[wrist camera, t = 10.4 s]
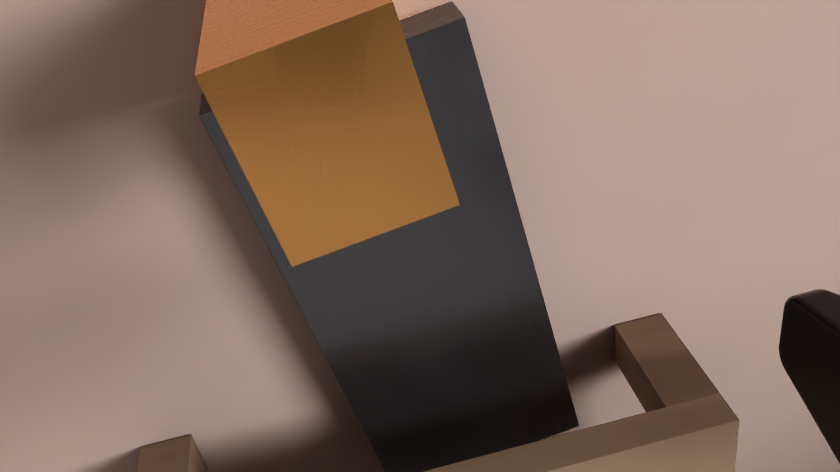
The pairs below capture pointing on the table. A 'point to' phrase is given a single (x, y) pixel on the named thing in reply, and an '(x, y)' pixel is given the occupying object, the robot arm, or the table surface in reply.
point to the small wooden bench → (603, 444)
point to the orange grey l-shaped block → (388, 218)
